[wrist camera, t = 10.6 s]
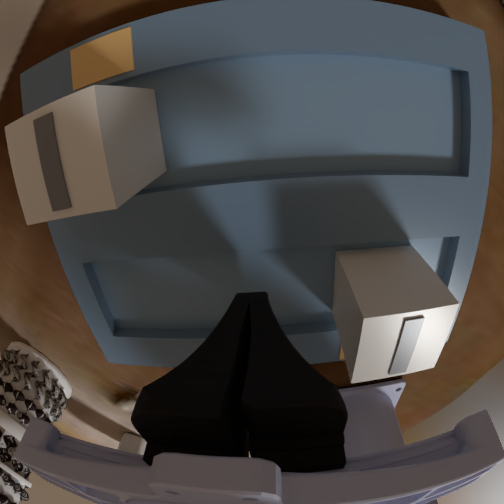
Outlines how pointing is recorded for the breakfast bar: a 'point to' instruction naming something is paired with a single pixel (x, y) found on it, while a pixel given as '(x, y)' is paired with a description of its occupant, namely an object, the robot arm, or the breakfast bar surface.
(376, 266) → the white block
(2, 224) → the breakfast bar surface
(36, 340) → the breakfast bar surface
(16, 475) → the decorative candle
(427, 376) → the breakfast bar surface
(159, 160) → the white striped block
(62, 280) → the breakfast bar surface
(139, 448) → the white rounded block
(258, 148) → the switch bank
